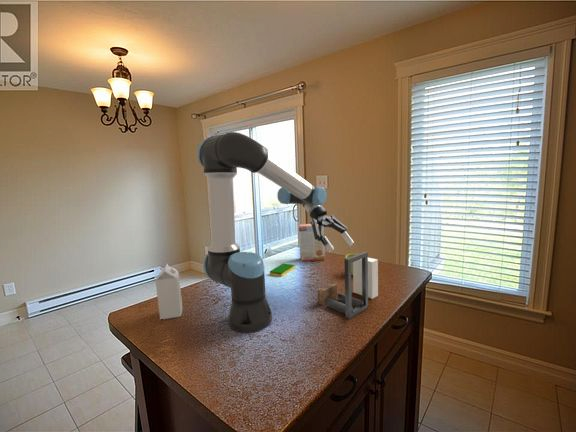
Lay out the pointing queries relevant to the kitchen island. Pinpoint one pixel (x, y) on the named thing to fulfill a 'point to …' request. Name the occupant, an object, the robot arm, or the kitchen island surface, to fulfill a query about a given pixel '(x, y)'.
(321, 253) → the cracker box
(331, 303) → the frame
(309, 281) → the kitchen island surface
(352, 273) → the plant pot
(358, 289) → the white block
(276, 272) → the dish sponge
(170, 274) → the milk carton
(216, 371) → the kitchen island surface
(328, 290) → the offcut stack
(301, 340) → the kitchen island surface
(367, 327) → the kitchen island surface
